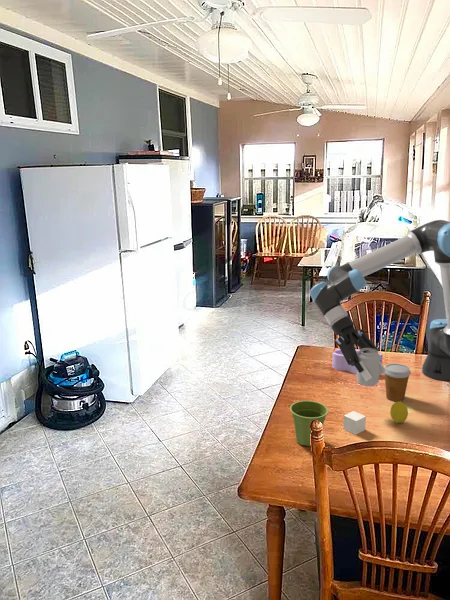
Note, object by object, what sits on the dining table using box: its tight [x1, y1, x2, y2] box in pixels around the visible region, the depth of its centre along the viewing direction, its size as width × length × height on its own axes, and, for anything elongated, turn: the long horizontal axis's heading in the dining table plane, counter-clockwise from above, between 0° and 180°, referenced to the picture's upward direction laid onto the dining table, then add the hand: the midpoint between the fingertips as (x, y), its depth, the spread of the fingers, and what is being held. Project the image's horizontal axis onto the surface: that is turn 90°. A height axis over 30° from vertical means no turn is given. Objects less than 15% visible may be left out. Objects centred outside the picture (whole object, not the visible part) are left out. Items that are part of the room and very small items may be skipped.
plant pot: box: [289, 400, 329, 447], centre depth 156 cm, size 12×12×11 cm
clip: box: [331, 348, 383, 376], centre depth 212 cm, size 20×12×7 cm, turn 66°
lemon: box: [389, 401, 409, 424], centre depth 166 cm, size 6×6×8 cm
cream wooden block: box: [342, 410, 367, 436], centre depth 163 cm, size 5×5×5 cm
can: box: [356, 348, 380, 387], centre depth 172 cm, size 8×8×12 cm
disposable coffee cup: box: [383, 362, 412, 402], centre depth 184 cm, size 10×10×12 cm
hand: (376, 376), depth 170 cm, fingers closed on can, 7 cm apart
